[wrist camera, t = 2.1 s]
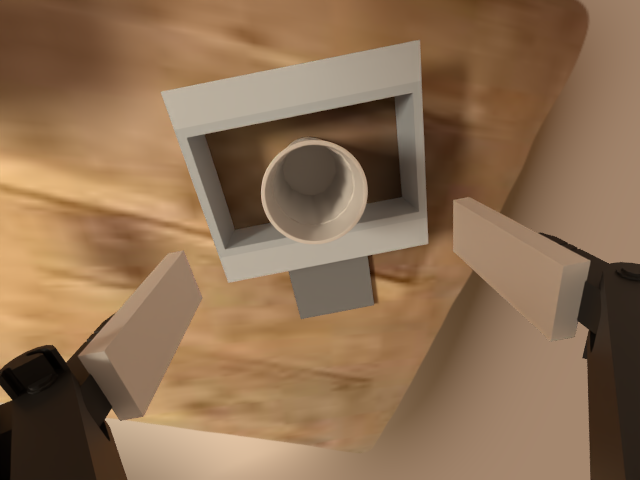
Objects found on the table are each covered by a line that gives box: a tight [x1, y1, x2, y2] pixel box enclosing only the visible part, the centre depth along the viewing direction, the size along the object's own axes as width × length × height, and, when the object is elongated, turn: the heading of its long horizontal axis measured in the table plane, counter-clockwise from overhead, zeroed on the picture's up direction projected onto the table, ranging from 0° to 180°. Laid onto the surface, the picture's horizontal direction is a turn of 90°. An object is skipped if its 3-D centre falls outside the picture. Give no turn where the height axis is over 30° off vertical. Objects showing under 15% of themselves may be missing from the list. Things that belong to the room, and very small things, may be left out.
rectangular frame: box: [161, 40, 428, 283], centre depth 31 cm, size 19×22×6 cm
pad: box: [289, 256, 374, 319], centre depth 39 cm, size 10×10×1 cm
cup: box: [261, 137, 368, 244], centre depth 28 cm, size 8×8×12 cm
